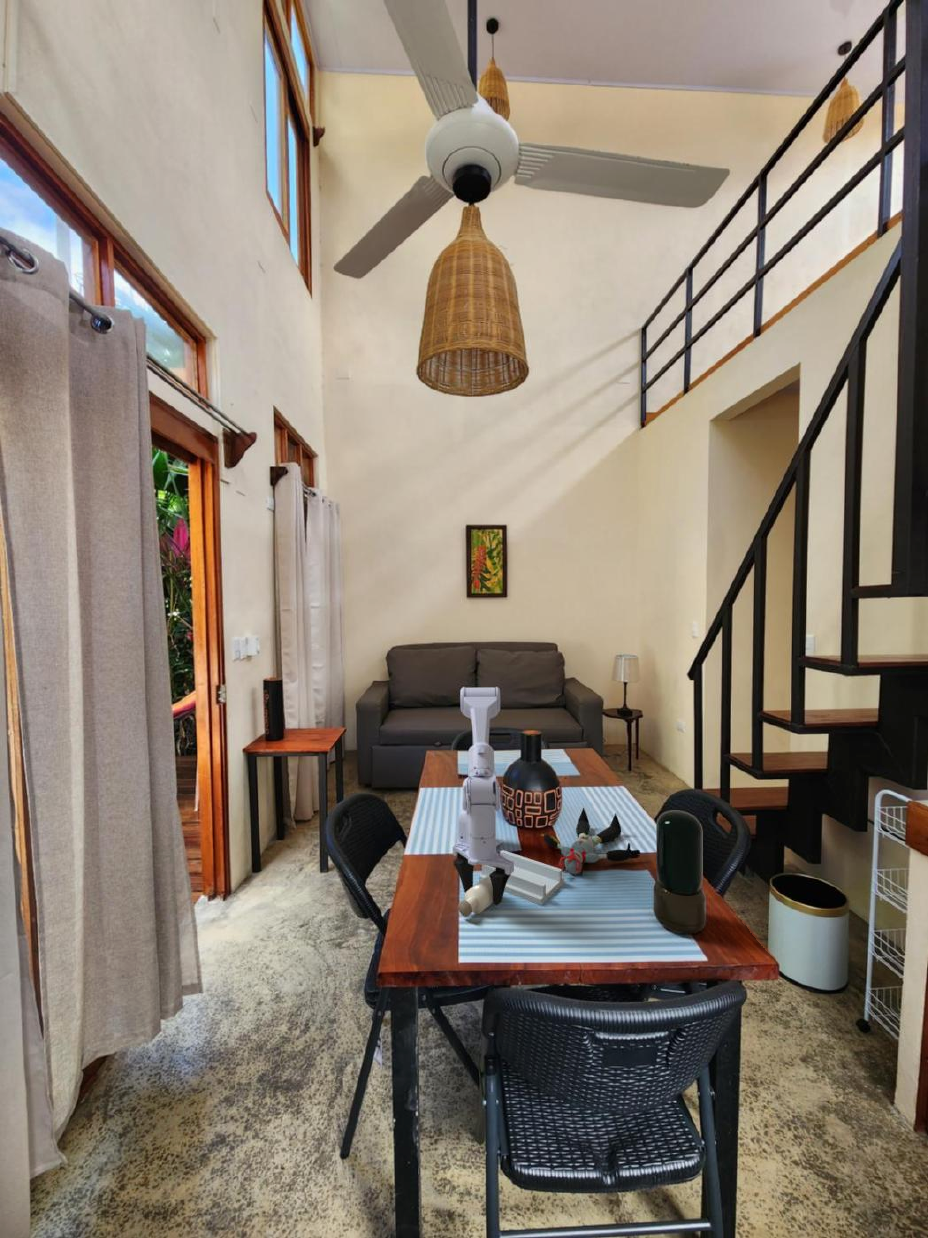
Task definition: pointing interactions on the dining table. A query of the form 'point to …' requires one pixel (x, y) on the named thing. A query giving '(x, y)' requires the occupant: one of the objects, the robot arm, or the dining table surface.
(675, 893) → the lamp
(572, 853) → the toy
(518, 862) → the cradle
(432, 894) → the dining table surface
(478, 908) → the bottle
